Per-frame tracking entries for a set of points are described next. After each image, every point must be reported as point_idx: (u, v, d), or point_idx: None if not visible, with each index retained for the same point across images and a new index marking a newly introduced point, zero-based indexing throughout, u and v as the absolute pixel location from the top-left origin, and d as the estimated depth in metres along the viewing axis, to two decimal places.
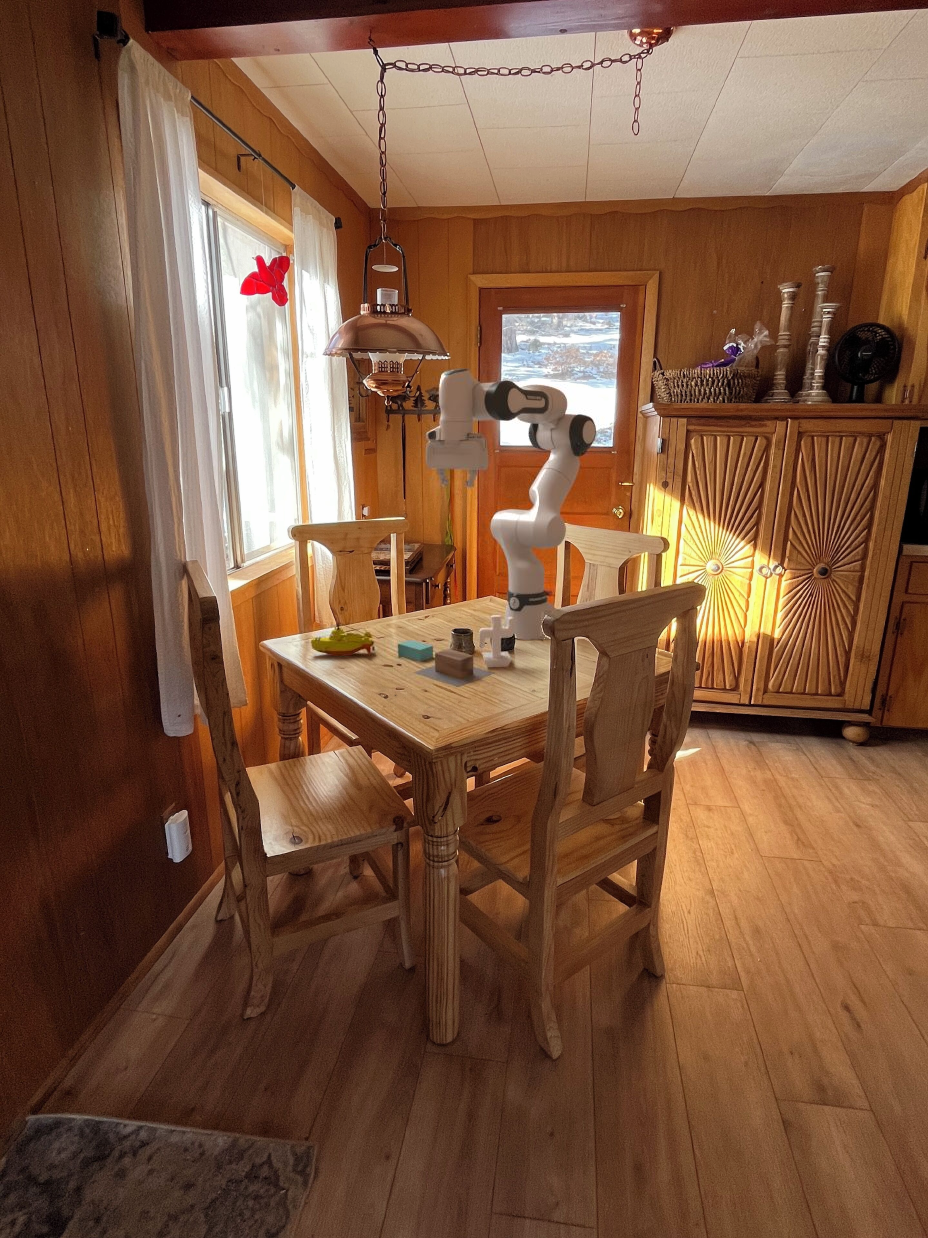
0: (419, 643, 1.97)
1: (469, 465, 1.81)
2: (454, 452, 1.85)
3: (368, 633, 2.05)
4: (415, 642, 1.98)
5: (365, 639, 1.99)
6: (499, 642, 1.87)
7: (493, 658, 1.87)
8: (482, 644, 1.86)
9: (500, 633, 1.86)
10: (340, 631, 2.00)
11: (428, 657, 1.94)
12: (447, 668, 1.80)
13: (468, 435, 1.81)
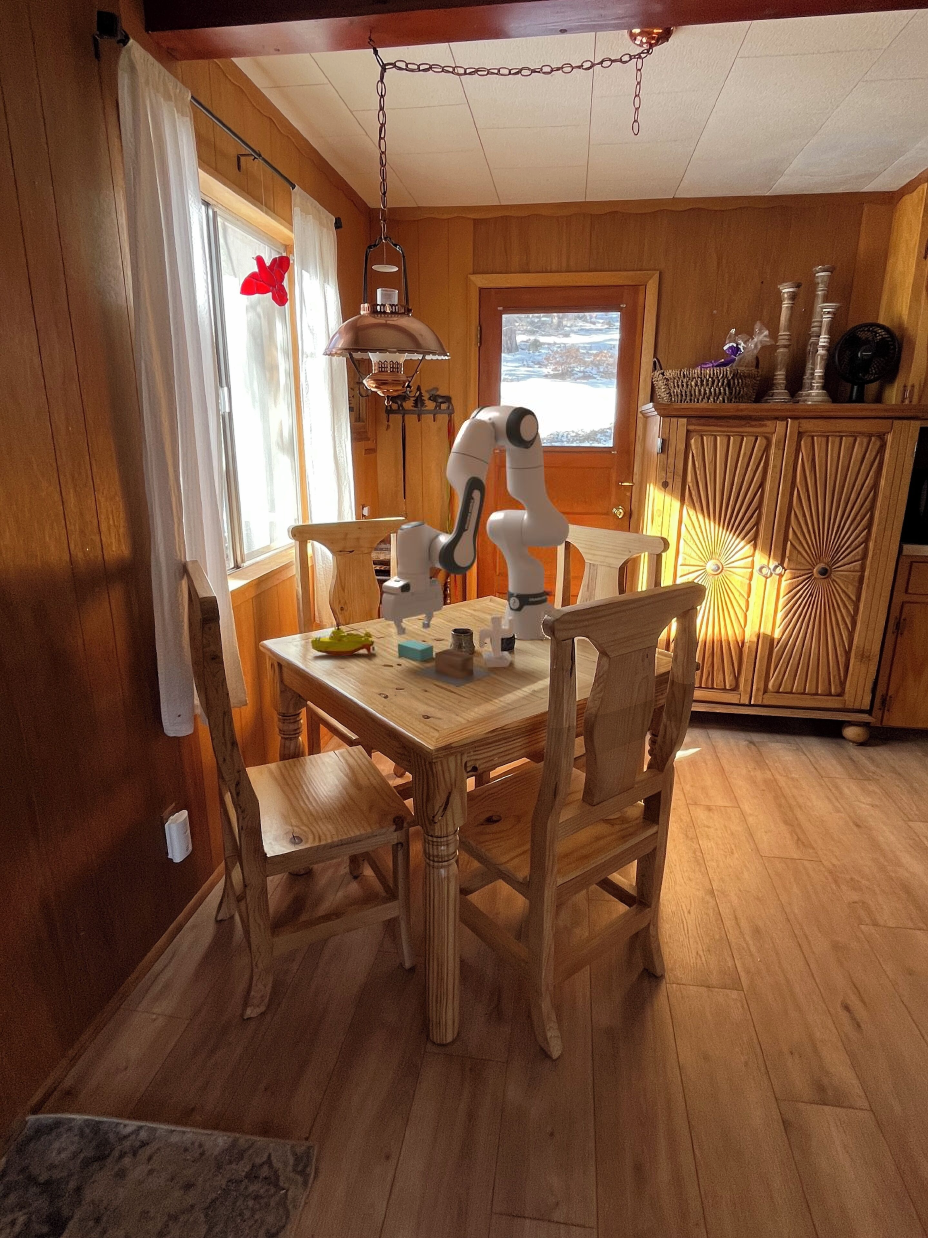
0: (419, 643, 1.97)
1: (435, 608, 1.96)
2: (419, 600, 1.91)
3: (368, 633, 2.05)
4: (415, 642, 1.98)
5: (365, 639, 1.99)
6: (499, 642, 1.87)
7: (493, 658, 1.87)
8: (482, 644, 1.86)
9: (500, 633, 1.86)
10: (340, 631, 2.00)
11: (428, 657, 1.94)
12: (447, 668, 1.80)
13: None
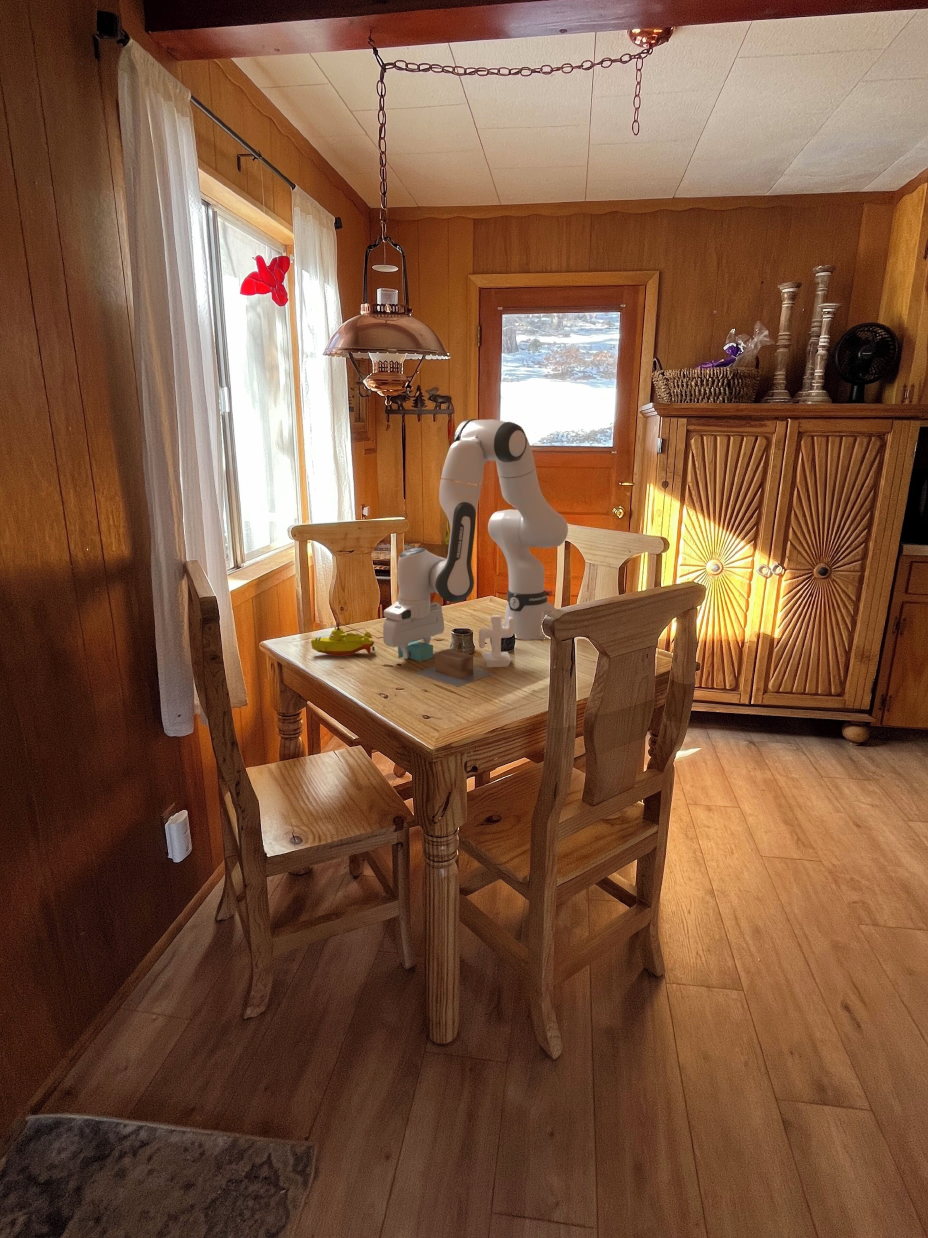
0: (419, 642, 1.97)
1: (436, 631, 1.98)
2: (420, 624, 1.94)
3: (368, 633, 2.05)
4: (415, 641, 1.98)
5: (365, 639, 1.99)
6: (499, 642, 1.87)
7: (493, 658, 1.87)
8: (482, 644, 1.86)
9: (500, 633, 1.86)
10: (340, 631, 2.00)
11: (428, 656, 1.94)
12: (447, 668, 1.80)
13: None
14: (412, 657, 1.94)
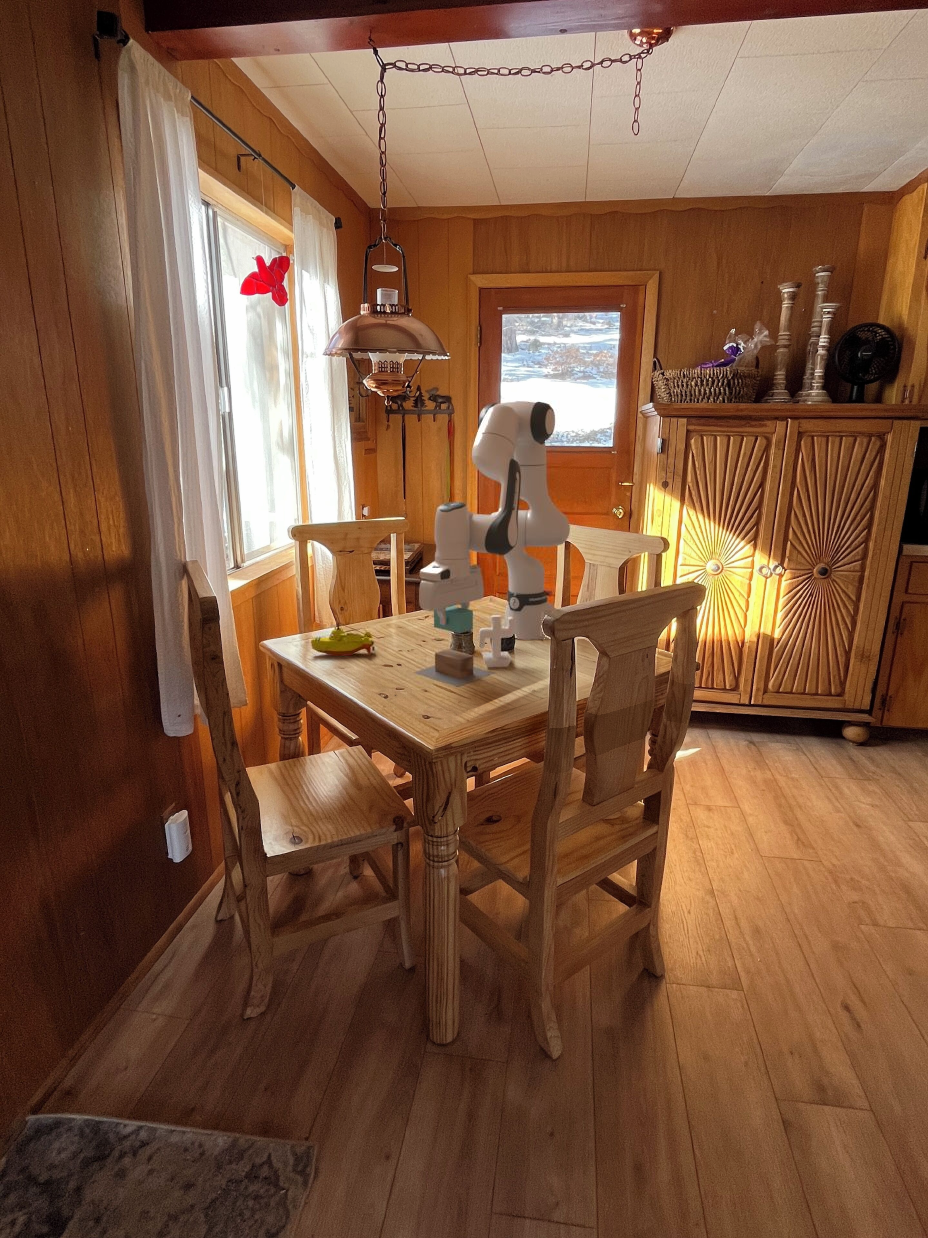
0: (457, 608, 1.79)
1: (475, 596, 1.81)
2: (459, 587, 1.76)
3: (368, 633, 2.05)
4: (453, 607, 1.80)
5: (365, 639, 1.99)
6: (499, 642, 1.87)
7: (493, 658, 1.87)
8: (482, 644, 1.86)
9: (500, 633, 1.86)
10: (340, 631, 2.00)
11: (468, 622, 1.76)
12: (447, 668, 1.80)
13: None
14: (450, 623, 1.76)
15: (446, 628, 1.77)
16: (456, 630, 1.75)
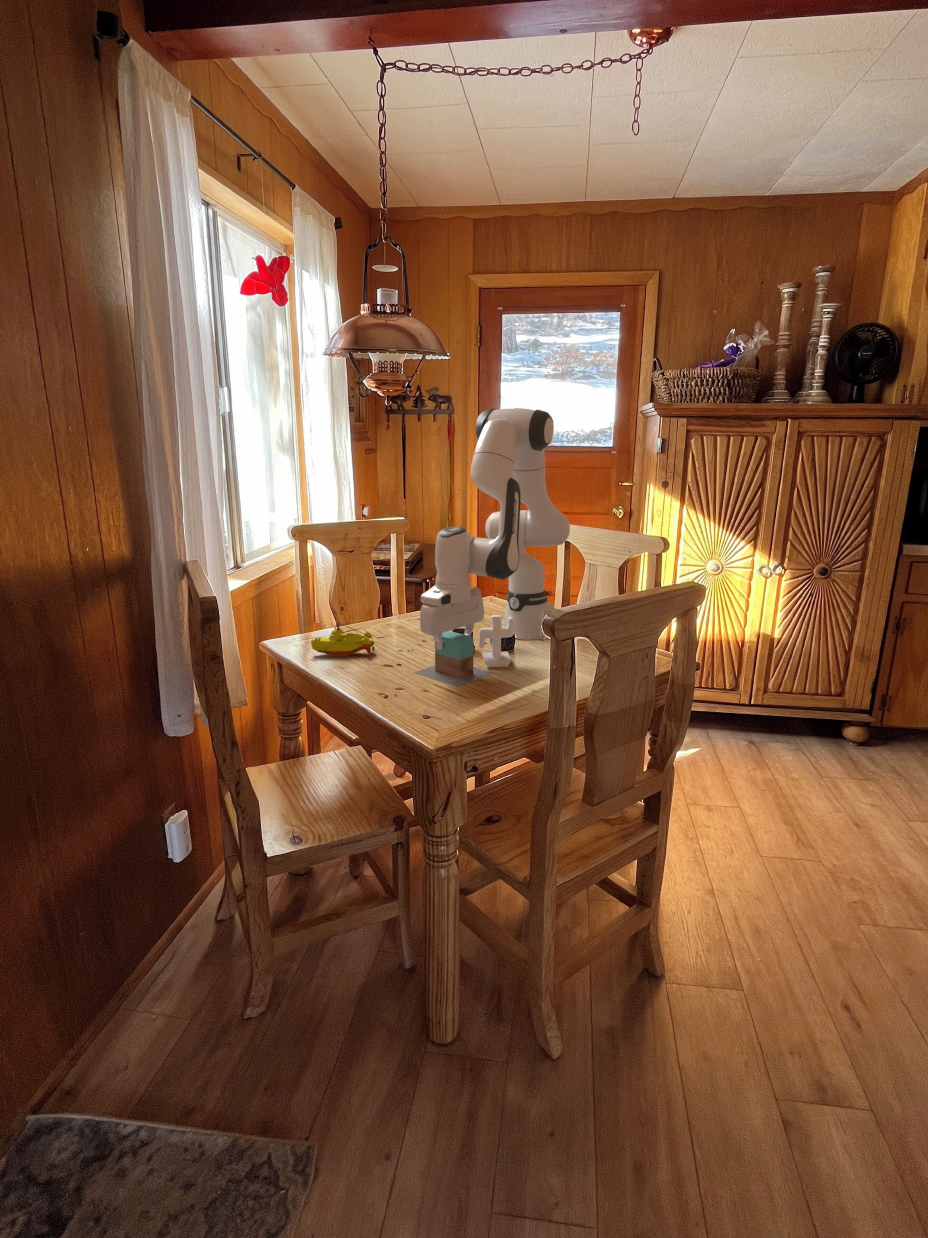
0: (458, 634, 1.81)
1: (475, 619, 1.82)
2: (459, 611, 1.78)
3: (368, 633, 2.05)
4: (453, 633, 1.82)
5: (365, 639, 1.99)
6: (499, 642, 1.87)
7: (493, 658, 1.87)
8: (482, 644, 1.86)
9: (500, 633, 1.86)
10: (340, 631, 2.00)
11: (468, 649, 1.78)
12: (447, 668, 1.80)
13: None
14: (451, 650, 1.78)
15: (447, 655, 1.79)
16: (457, 657, 1.77)
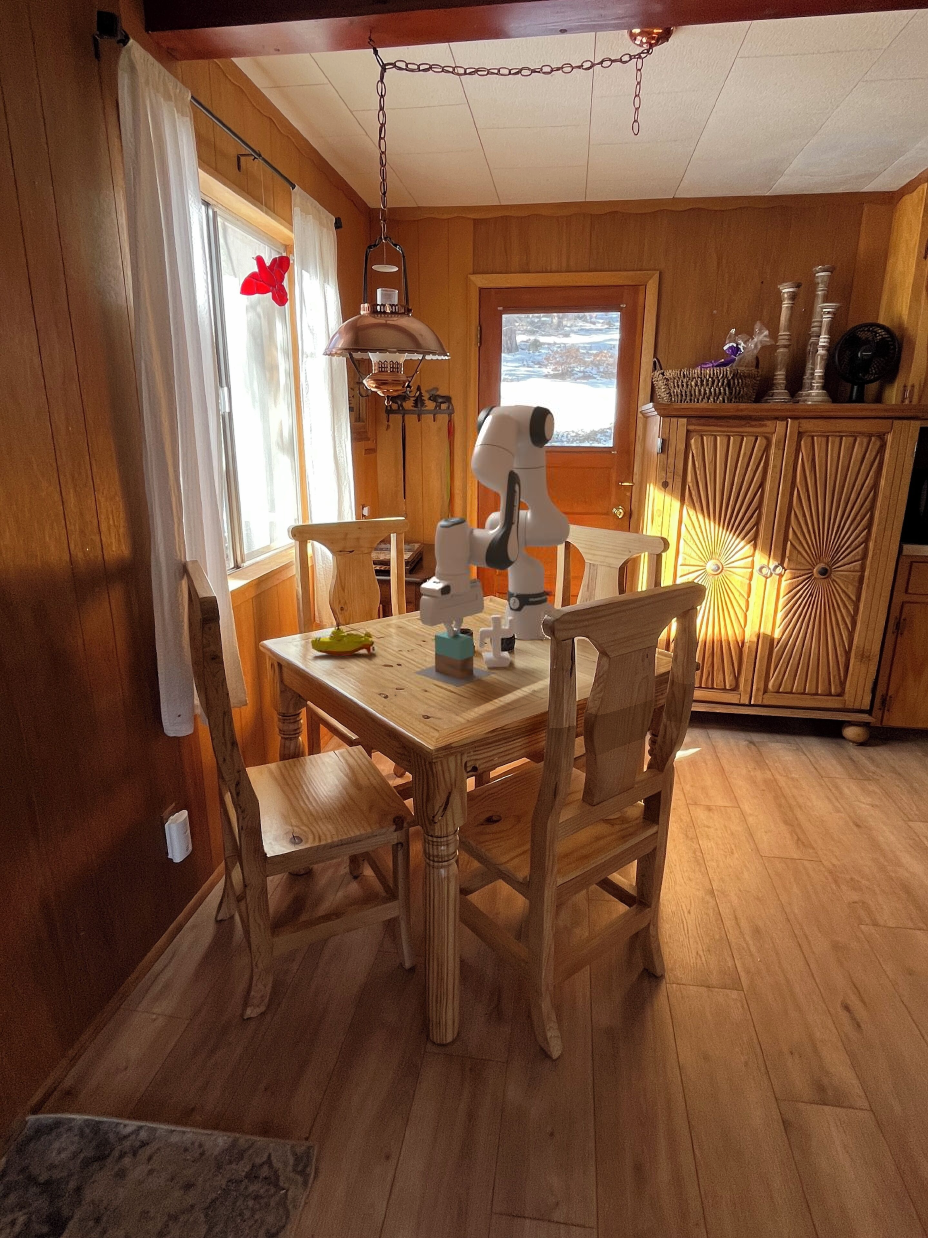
0: None
1: (475, 610, 1.82)
2: (459, 602, 1.77)
3: (368, 633, 2.05)
4: None
5: (365, 639, 1.99)
6: (499, 642, 1.87)
7: (493, 658, 1.87)
8: (482, 644, 1.86)
9: (500, 633, 1.86)
10: (340, 631, 2.00)
11: (468, 649, 1.78)
12: (447, 668, 1.80)
13: None
14: (451, 650, 1.78)
15: (447, 655, 1.79)
16: (457, 657, 1.77)
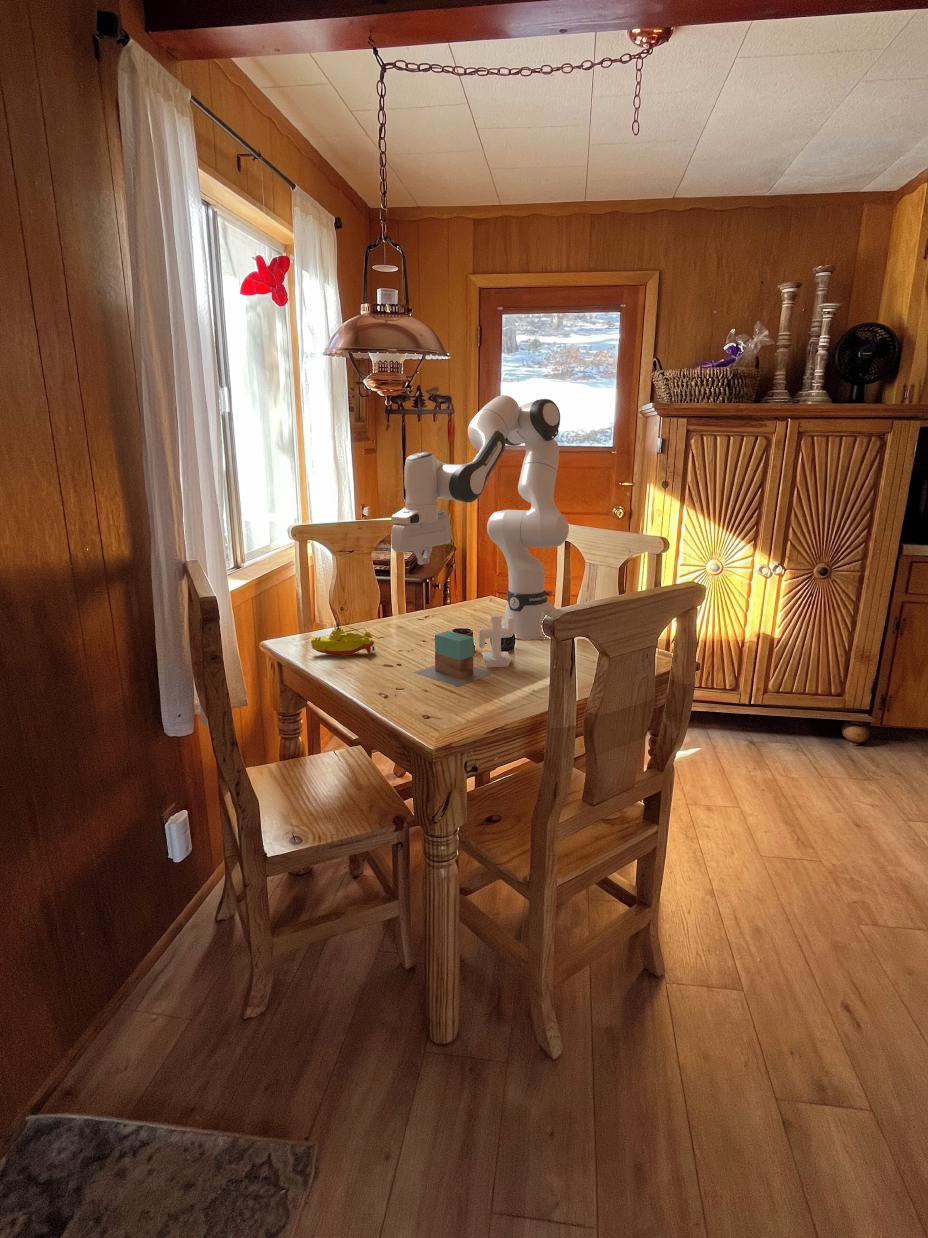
0: (458, 634, 1.81)
1: (443, 540, 1.97)
2: (428, 531, 1.92)
3: (368, 633, 2.05)
4: (453, 633, 1.82)
5: (365, 639, 1.99)
6: (499, 642, 1.87)
7: (493, 658, 1.87)
8: (482, 644, 1.86)
9: (500, 633, 1.86)
10: (340, 631, 2.00)
11: (468, 649, 1.78)
12: (447, 668, 1.80)
13: None
14: (451, 650, 1.78)
15: (447, 655, 1.79)
16: (457, 657, 1.77)
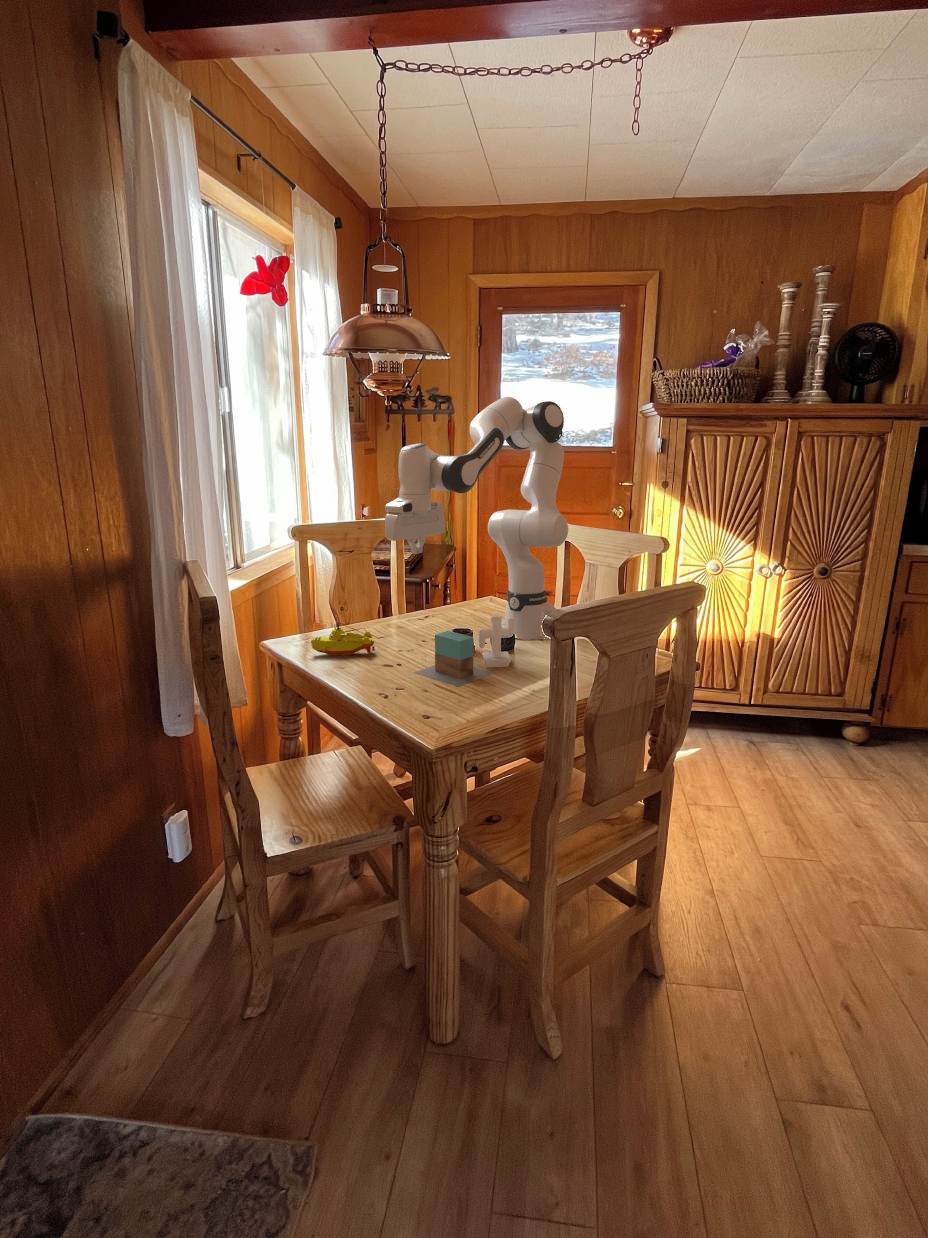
0: (458, 634, 1.81)
1: (437, 530, 2.00)
2: (421, 521, 1.95)
3: (368, 633, 2.05)
4: (453, 633, 1.82)
5: (365, 639, 1.99)
6: (499, 642, 1.87)
7: (493, 658, 1.87)
8: (482, 644, 1.86)
9: (500, 633, 1.86)
10: (340, 631, 2.00)
11: (468, 649, 1.78)
12: (447, 668, 1.80)
13: None
14: (451, 650, 1.78)
15: (447, 655, 1.79)
16: (457, 657, 1.77)
